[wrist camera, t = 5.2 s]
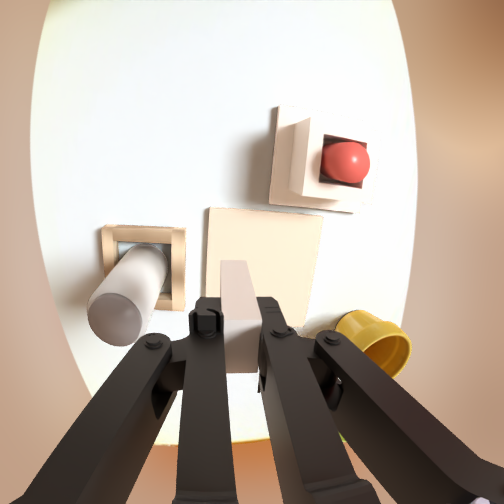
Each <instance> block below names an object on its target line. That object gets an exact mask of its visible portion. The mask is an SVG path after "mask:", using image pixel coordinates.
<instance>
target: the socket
mask: <svg viewBox="0 0 504 504" xmlns="http://www.w3.org/2000/svg"><path fill="white" fill-rule="evenodd" d="M101 230H102V248H103V261H104V272H105V278H106V277H107V276H108V274H109V273H110V272H111V271H112V270H113V268H114V267H115V266H116V265H117V264H118V262H119V249H118V241H128V242H147V243H166V244H172V247H171V269H172V293H160V294H159V296H158V299H157V302H156V305H155V307H154V309H156V310H170V311H184V308H185V257H186V228H178V227H157V226H134V225H108V224H107V225H106V226H104V227H103V228H101Z"/></svg>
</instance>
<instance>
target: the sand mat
mask: <svg viewBox="0 0 504 504" xmlns="http://www.w3.org/2000/svg"><path fill="white" fill-rule="evenodd" d="M322 223H323V216H320V215H310V214H299V213H288V212H276V211H264V210H250V209H236V208H220V207H210V211H209V228H208V247H207V270H206V297H220V260H246V262H247V265H248V269H249V273H250V276H251V280H252V284H253V288H254V291H255V295H256V297H273V298H274V299H275V300H277V301H278V303H279V306H280V308H281V311H282V313H283V316H284V318H285V321H286V323H287V325H288V326H290V327H304V323H305V318H306V313H307V308H308V303H309V298H310V293H311V288H312V282H313V277H314V272H315V266H316V260H317V254H318V248H319V242H320V236H321V230H322Z"/></svg>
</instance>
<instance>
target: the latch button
mask: <svg viewBox="0 0 504 504" xmlns="http://www.w3.org/2000/svg"><path fill="white" fill-rule="evenodd" d="M369 169H370V158H369V155H368V153H367V151H366V149H365V148H364V147H363V146H362V145H360V144H358V143H355V142H342V143H330V144H326V145H324V146H323V147H322V156H321V165H320V173H321V174H322V175H324V176H325V177H327V178H331V179H335V180H340V181H344V182H348V183H357V182H360V181H361V180H363V179H364V178H365V177H366V176H367V174H368V172H369Z"/></svg>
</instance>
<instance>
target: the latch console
mask: <svg viewBox="0 0 504 504" xmlns="http://www.w3.org/2000/svg"><path fill="white" fill-rule="evenodd" d="M370 125H371V124H370V123H367V122H363V121H359V120H355V119H351V118H347V117H343V116H338V115H334V114H329V113H324V112H319V111H314V110H309V109H303V108H297V107H291V106H285V105H279V106H278V114H277V124H276V134H275V144H274V154H273V164H272V174H271V184H270V193H269V204H275V205H286V206H297V207H307V208H317V209H326V210H335V211H343V212H352V213H360V209H361V203H364V204H371V205H372V199H373V192H374V185H375V178H376V170H377V162H378V152H379V142H380V132H377V131H373V130H370ZM342 142H355V143H358V144H360V145H362V146H363V147H364V148H365V149H366V151H367V153H368V155H369V158H370V169H369V172H368V174H367V176H366V177H365V178H364V179H363V180H361V181H360V182H357V183H348V182H344V181H340V180H335V179H331V178H327V177H325V176H324V175H322V174H321V173H320V165H321V156H322V147H323V146H324V145H326V144H330V143H342Z"/></svg>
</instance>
